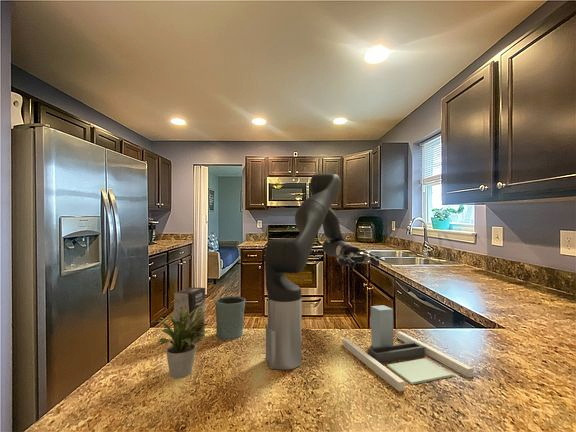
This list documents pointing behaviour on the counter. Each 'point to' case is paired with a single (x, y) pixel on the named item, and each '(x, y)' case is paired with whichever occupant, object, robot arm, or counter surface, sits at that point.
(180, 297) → the coffee box
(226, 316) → the teal cup
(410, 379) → the pad
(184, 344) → the house plant
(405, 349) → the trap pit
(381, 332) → the grey tall block
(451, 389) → the counter surface
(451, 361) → the lane rails
